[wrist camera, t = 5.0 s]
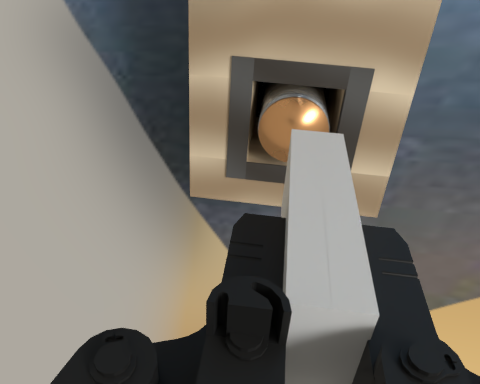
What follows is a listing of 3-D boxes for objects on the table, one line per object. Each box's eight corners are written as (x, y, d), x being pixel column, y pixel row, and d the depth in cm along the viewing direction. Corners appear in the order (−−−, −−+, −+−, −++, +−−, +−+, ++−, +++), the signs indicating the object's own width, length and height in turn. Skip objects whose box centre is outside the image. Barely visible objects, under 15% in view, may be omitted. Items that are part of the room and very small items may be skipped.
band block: (216, -245, 21) (185, -313, 15) (462, -234, 20) (533, -301, 14) (208, 148, 33) (189, 197, 27) (362, 164, 32) (377, 218, 26)
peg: (267, 59, 28) (260, 93, 22) (327, 65, 27) (336, 101, 22) (262, 115, 30) (254, 159, 24) (317, 121, 30) (323, 167, 24)
